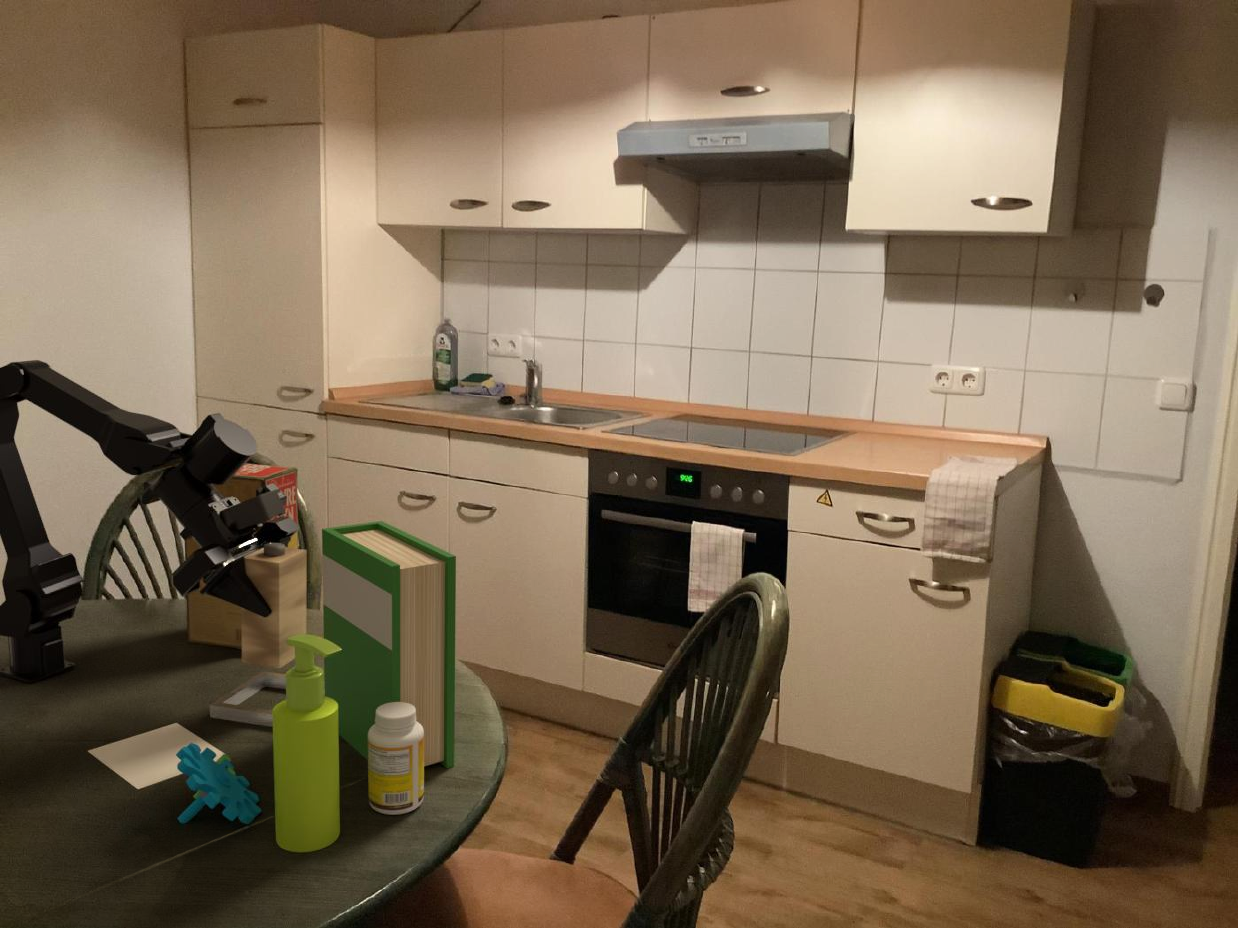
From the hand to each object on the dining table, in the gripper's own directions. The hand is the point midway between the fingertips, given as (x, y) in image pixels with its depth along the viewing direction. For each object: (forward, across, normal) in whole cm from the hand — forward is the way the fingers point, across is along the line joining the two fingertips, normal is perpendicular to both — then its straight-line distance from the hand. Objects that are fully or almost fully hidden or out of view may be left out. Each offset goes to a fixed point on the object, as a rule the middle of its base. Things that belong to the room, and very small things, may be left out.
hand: (283, 606), depth 123 cm
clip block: (+4, 0, +6) cm, 7 cm away
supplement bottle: (+25, -17, -7) cm, 31 cm away
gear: (+15, -24, +4) cm, 28 cm away
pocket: (+8, 0, +10) cm, 13 cm away
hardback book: (+21, -5, -2) cm, 21 cm away
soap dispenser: (+22, -25, -3) cm, 33 cm away
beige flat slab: (+5, -15, +14) cm, 21 cm away
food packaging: (-4, +20, +23) cm, 30 cm away
